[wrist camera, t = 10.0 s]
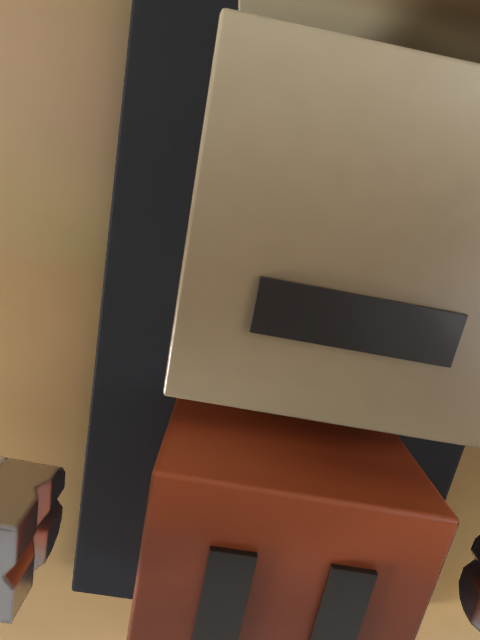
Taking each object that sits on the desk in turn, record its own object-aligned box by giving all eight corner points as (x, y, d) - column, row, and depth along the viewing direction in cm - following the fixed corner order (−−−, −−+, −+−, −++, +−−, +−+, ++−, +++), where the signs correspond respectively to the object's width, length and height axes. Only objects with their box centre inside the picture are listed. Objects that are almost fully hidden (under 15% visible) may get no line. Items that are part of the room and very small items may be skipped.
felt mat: (179, -352, 6) (173, -412, 5) (681, -218, 6) (725, -261, 6) (79, 570, 10) (70, 592, 10) (387, 614, 11) (396, 637, 10)
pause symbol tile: (179, 387, 8) (149, 476, 5) (391, 424, 9) (466, 526, 6) (150, 565, 9) (113, 714, 7) (339, 592, 10) (381, 747, 7)
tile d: (227, 86, 7) (220, -2, 4) (478, 139, 7) (634, 90, 4) (187, 335, 8) (160, 400, 5) (406, 374, 8) (493, 456, 5)
